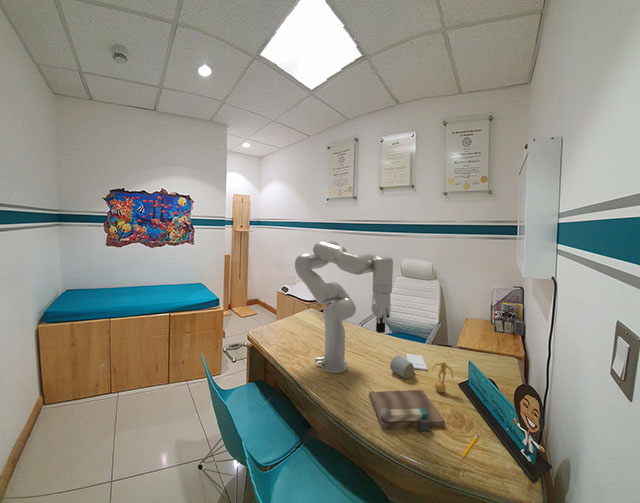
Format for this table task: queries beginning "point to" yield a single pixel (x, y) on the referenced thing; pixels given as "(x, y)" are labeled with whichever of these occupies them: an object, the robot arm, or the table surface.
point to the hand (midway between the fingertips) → (380, 331)
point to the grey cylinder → (402, 366)
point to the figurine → (440, 385)
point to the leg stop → (423, 425)
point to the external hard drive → (417, 361)
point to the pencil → (469, 447)
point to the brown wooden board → (404, 407)
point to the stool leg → (403, 414)
